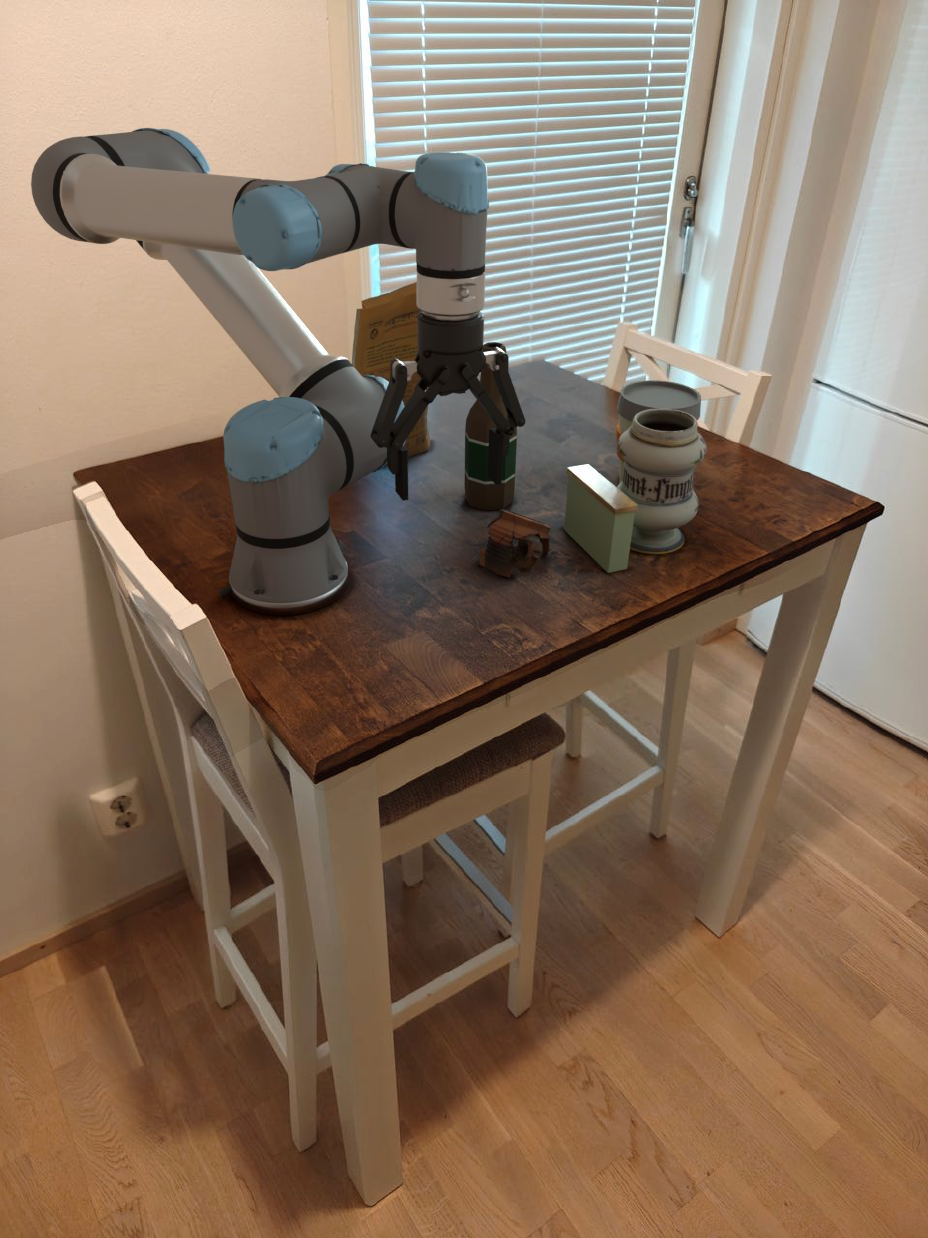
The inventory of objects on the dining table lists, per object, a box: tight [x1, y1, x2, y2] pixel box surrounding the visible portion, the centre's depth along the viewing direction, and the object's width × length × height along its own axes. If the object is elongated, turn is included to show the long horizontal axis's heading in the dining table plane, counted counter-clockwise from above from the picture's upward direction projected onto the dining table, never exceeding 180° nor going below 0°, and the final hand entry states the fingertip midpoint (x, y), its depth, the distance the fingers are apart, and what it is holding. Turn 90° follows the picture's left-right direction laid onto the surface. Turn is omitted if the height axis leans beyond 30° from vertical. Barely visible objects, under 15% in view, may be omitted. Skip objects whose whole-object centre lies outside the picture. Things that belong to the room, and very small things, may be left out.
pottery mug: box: [478, 509, 552, 578], centre depth 120 cm, size 12×10×8 cm
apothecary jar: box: [616, 409, 708, 555], centre depth 123 cm, size 12×12×18 cm
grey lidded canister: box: [615, 379, 702, 484], centre depth 138 cm, size 13×13×15 cm
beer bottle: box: [463, 341, 518, 511], centre depth 130 cm, size 8×8×24 cm
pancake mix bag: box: [351, 281, 431, 469], centre depth 142 cm, size 7×19×28 cm, turn 134°
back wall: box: [563, 463, 638, 574], centre depth 122 cm, size 3×13×10 cm, turn 22°
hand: (449, 487), depth 111 cm, fingers open, 12 cm apart
